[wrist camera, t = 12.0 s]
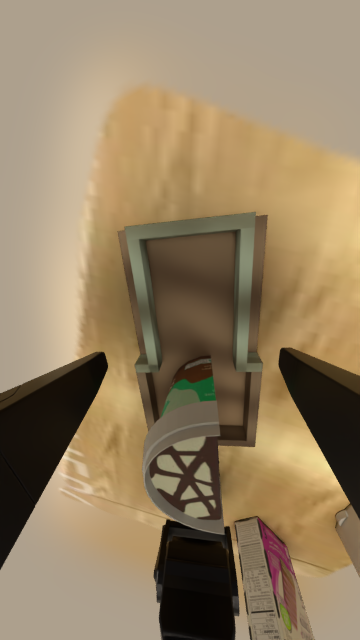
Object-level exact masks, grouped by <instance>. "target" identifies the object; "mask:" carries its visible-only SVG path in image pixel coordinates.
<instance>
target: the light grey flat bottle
mask: <svg viewBox="0 0 360 640" xmlns="http://www.w3.org/2000/svg"><path fill="white" fill-rule="evenodd" d="M336 519H337V524H336V527H335V528H336V530H337V532H338V534H339V536H340V538H341V540H342V542H343V545H344V547H345V549H346V551H347V553H348V555H349V557H350V559H351V561H352V563H353V565H354V567H355V569H356V571H357V573H358V575H359V577H360V520H359V518H358V516H357V514H356V513H355V511H354V509H353V507H352V505H351V504H350V505H349V506H348V507H347V508H346V509H345V510H344V511H341V512H339V513H338V514H337V515H336Z"/></svg>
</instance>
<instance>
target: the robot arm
mask: <svg viewBox="0 0 360 640" xmlns="http://www.w3.org/2000/svg"><path fill="white" fill-rule="evenodd" d="M279 368H280V371H281V373H282V375H283V378H284V380H285V383H286V385H287V388H288V390H289V392H290V394H291V397H292V398H293V400H294V402H295V404H296V406H297V408H298V409H299V411H300V413H301V415H302V417H303V419H304V420H305V422H306V424H307V426H308V428H309V429H310V431H311V433H312V435H313V437H314V438H315V440H316V442H317V444H318V446H319V447H320V449H321V451H322V453H323V455H324V456H325V458H326V460H327V462H328V464H329V466H330V467H331V469H332V471H333V473H334V475H335V476H336V478H337V480H338V482H339V484H340V485H341V487H342V489H343V491H344V493H345V494H346V496H347V498H348V500H349V502H350V504H351V505H352V507H353V509H354V511H355V513H356V514H357V516H358V518H359V520H360V376H359V375H356V374H354V373H351V372H349V371H346V370H344V369H342V368H339V367H337V366H334V365H332V364H329V363H327V362H325V361H322V360H320V359H317V358H315V357H312V356H310V355H308V354H305V353H303V352H300V351H298V350H295V349H293V348H281V350H280V355H279ZM107 369H108V363H107V359H106V356H105V353H104V352H95V353H92V354H90V355H88V356H86V357H83V358H81V359H79V360H76V361H74V362H72V363H69V364H67V365H65V366H63V367H60V368H58V369H56V370H53V371H51V372H49V373H47V374H44V375H42V376H40V377H38V378H35V379H33V380H31V381H28V382H26V383H24V384H22V385H19V386H17V387H14V388H12V389H10V390H7V391H5V392H3V393H0V569H1V567H2V566H3V564H4V562H5V560H6V559H7V557H8V555H9V553H10V551H11V549H12V548H13V546H14V544H15V542H16V540H17V539H18V537H19V535H20V533H21V531H22V529H23V528H24V526H25V524H26V522H27V520H28V519H29V517H30V515H31V513H32V511H33V509H34V508H35V505H36V503H37V502H38V500H39V498H40V497H41V495H42V493H43V491H44V489H45V487H46V485H47V484H48V482H49V480H50V478H51V476H52V475H53V473H54V471H55V469H56V467H57V466H58V464H59V462H60V460H61V458H62V457H63V455H64V453H65V451H66V449H67V448H68V446H69V444H70V442H71V440H72V438H73V437H74V435H75V433H76V431H77V429H78V428H79V426H80V424H81V422H82V420H83V418H84V417H85V415H86V413H87V411H88V409H89V408H90V406H91V404H92V402H93V400H94V399H95V397H96V395H97V393H98V390H99V388H100V386H101V383H102V381H103V379H104V376H105V374H106V372H107ZM224 533H225V535H224V534H216V533H211V532H205V531H201V530H198V529H194V528H192V527H189V526H186V525H184V524H182V523H180V522H177V521H171V520H168V519H167V520H166V525H163V528H162V536H161V542H160V547H159V552H158V556H157V560H156V565H155V570H154V579H155V582H156V591H157V603H160V612H159V623H160V632H161V640H235V618H234V616H239V597H238V586H237V577H236V569H235V562H234V554H233V547H232V540H231V533H230V527H229V526H225V527H224Z"/></svg>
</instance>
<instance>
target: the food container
mask: <svg viewBox="0 0 360 640" xmlns="http://www.w3.org/2000/svg"><path fill="white" fill-rule="evenodd" d="M217 436H220V428H219V417H218V408H217V401H216V395H215V387H214V379H213V370H212V362H211V355H208V356H200V357H197V358H195V359H192V360H190V361H188V362H186V363H185V364H184V365H182V366H181V367H180V368H179V369H178V370H177V372H176V374H175V375H174V377H173V380H172V383H171V386H170V389H169V393H168V396H167V399H166V402H165V405H164V408H163V411H162V415H161V418H160V419H159V420H157V422H156V423H155V424H154V425H153V426H152V427H151V429H150V430H149V432H148V434H147V436H146V439H145V442H144V454H143V467H142V471H143V477H144V486H145V490H146V492H147V495H148V496H149V498H150V499H151V501H152V502H153V503H154V504H155V506H156V507H157V508H158V509H160V510H161V511H162V512H163V513H164V514H166V515H167V516H169V517H170V518H172V519H174V520H176V521H178V522H180V523H182V524H184V525H186V526H189V527H192V528H194V529H198V530H201V531H205V532H211V533H216V534H224V535H225V533H224V521H223V510H222V499H221V487H220V474H219V458H218V437H217Z"/></svg>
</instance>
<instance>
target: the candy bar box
mask: <svg viewBox="0 0 360 640" xmlns="http://www.w3.org/2000/svg"><path fill="white" fill-rule="evenodd" d="M235 529H236V537H237V545H238V552H239V559H240V567H241V573H242V581H243V589H244V596H245V603H246V611H247V618H248V625H249V633H250V639H251V640H315V639H314V636H313V633H312V630H311V626H310V623H309V619H308V616H307V612H306V609H305V606H304V603H303V600H302V596H301V593H300V590H299V586H298V583H297V580H296V576H295V573H294V570H293V567H292V563H291V560H290V556H289V553H288V550H287V546H286V545H285V544H284V543H283V542H282V541H281V540H280V539H279V538H278V537H277V536H276V535H275V534H274V533H273V532H272V531H271V530H270V529H269V528H268V527H267V526H266V525H265V524H264V523H263V522H262V521H261V520H260V519H259V518H258V517H251V518H248V519H244V520H241V521H237V522H235Z"/></svg>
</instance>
